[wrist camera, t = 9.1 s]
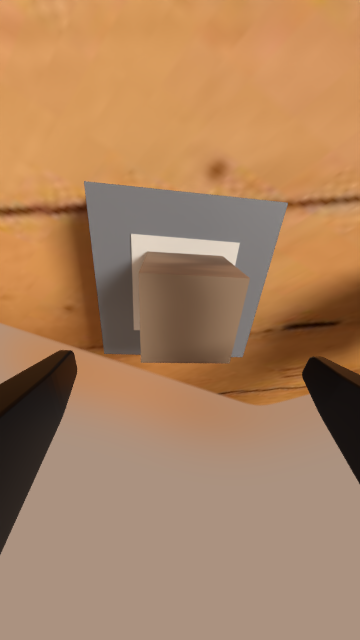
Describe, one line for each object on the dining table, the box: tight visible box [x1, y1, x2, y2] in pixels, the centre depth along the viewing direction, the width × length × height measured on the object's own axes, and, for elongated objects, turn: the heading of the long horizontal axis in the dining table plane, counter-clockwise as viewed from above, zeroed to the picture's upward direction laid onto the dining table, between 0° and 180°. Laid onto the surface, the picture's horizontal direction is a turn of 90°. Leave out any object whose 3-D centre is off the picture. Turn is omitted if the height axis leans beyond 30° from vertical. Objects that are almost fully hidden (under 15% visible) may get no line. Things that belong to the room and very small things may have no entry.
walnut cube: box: [139, 251, 250, 363], centre depth 12 cm, size 5×5×5 cm
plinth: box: [84, 181, 288, 357], centre depth 16 cm, size 12×12×4 cm
